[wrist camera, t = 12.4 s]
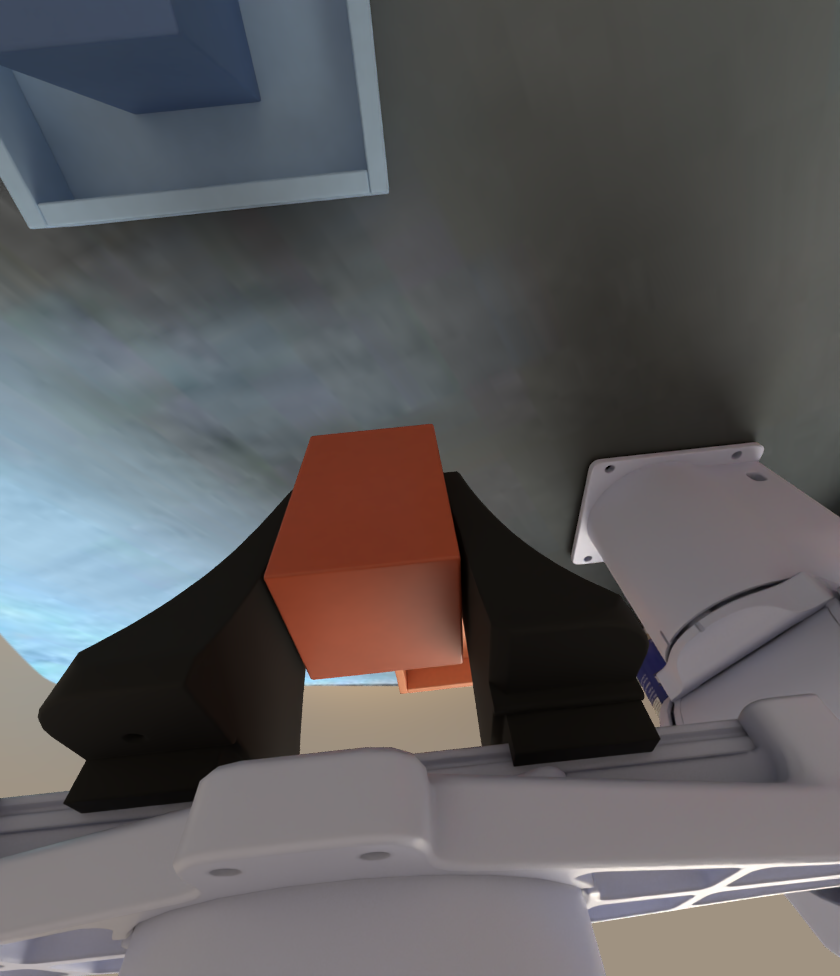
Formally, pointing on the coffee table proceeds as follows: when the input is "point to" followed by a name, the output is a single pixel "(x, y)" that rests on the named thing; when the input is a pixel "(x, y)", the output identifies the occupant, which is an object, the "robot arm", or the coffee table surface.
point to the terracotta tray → (436, 675)
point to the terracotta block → (370, 556)
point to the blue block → (133, 51)
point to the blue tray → (209, 131)
